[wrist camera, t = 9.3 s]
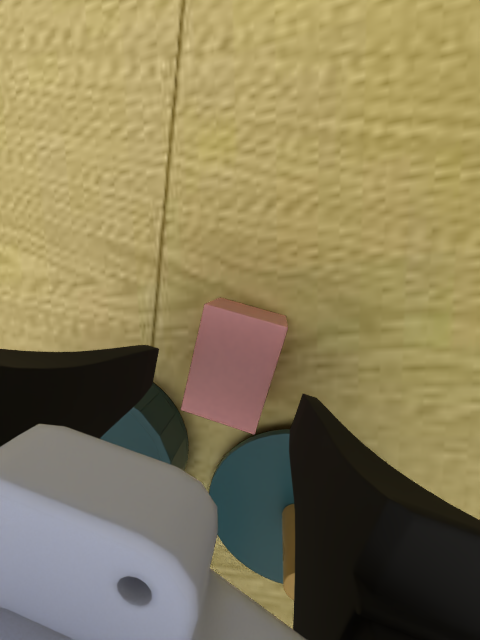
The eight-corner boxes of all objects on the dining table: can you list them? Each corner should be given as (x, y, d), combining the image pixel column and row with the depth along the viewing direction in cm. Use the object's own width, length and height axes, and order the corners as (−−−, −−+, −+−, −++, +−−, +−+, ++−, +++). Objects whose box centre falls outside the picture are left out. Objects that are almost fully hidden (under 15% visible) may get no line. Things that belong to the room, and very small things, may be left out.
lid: (434, 500, 16) (503, 600, 11) (312, 597, 19) (324, 709, 14) (277, 388, 16) (278, 437, 11) (182, 502, 20) (150, 580, 15)
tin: (218, 429, 18) (207, 460, 15) (142, 525, 21) (120, 566, 18) (86, 333, 18) (48, 345, 15) (29, 442, 21) (-11, 470, 18)
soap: (286, 315, 15) (288, 327, 12) (259, 403, 17) (254, 435, 14) (219, 297, 16) (204, 303, 12) (198, 383, 17) (180, 410, 14)
